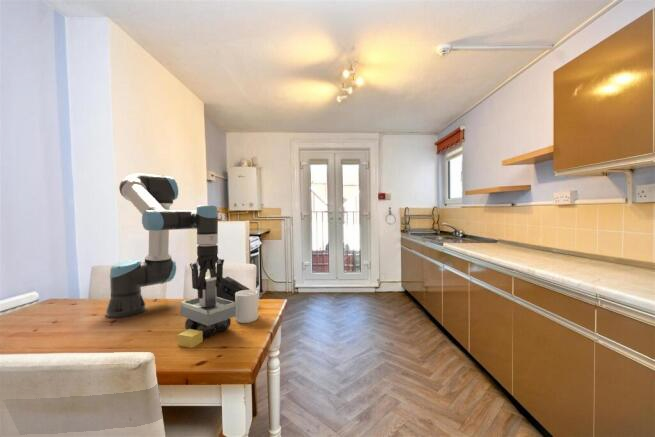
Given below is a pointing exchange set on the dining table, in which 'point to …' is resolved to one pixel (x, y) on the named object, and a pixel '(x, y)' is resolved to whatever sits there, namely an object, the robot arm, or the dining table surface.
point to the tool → (229, 289)
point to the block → (190, 338)
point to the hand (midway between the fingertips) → (208, 304)
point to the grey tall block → (210, 291)
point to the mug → (246, 306)
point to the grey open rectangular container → (208, 315)
